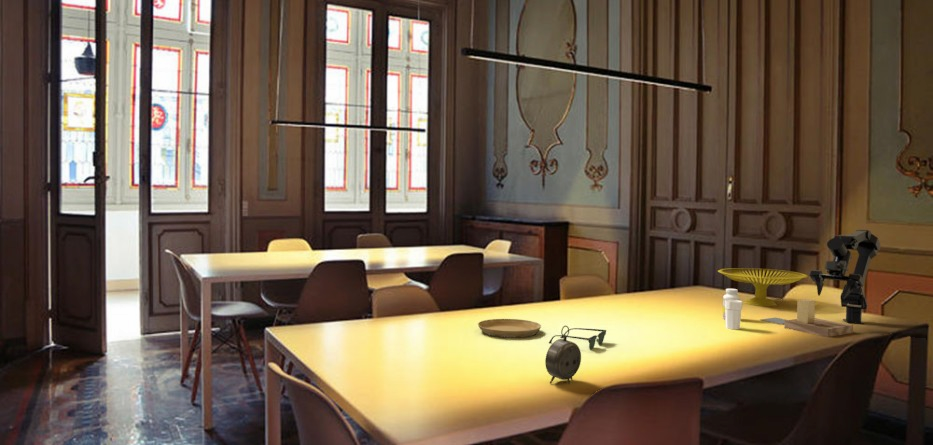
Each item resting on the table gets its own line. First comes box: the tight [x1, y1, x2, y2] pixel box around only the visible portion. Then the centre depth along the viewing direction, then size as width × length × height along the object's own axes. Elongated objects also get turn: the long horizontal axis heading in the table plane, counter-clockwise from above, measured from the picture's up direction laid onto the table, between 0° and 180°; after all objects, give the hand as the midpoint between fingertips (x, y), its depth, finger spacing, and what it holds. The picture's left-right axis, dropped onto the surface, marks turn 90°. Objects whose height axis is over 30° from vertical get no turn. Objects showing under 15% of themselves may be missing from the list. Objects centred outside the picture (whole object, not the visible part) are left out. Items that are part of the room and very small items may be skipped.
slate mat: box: [759, 317, 787, 325], centre depth 282 cm, size 10×10×1 cm
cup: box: [724, 299, 743, 330], centre depth 267 cm, size 7×7×11 cm
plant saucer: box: [477, 318, 542, 339], centre depth 255 cm, size 24×24×3 cm
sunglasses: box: [548, 327, 607, 350], centre depth 238 cm, size 16×17×5 cm
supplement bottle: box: [722, 288, 741, 320], centre depth 286 cm, size 7×7×13 cm
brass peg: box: [796, 298, 816, 324], centre depth 265 cm, size 4×4×12 cm
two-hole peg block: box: [783, 317, 854, 338], centre depth 265 cm, size 16×18×3 cm
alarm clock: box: [544, 325, 582, 385], centre depth 190 cm, size 11×5×16 cm, turn 129°
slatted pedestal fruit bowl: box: [717, 267, 809, 307], centre depth 326 cm, size 40×40×15 cm
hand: (830, 296), depth 265 cm, fingers open, 9 cm apart
